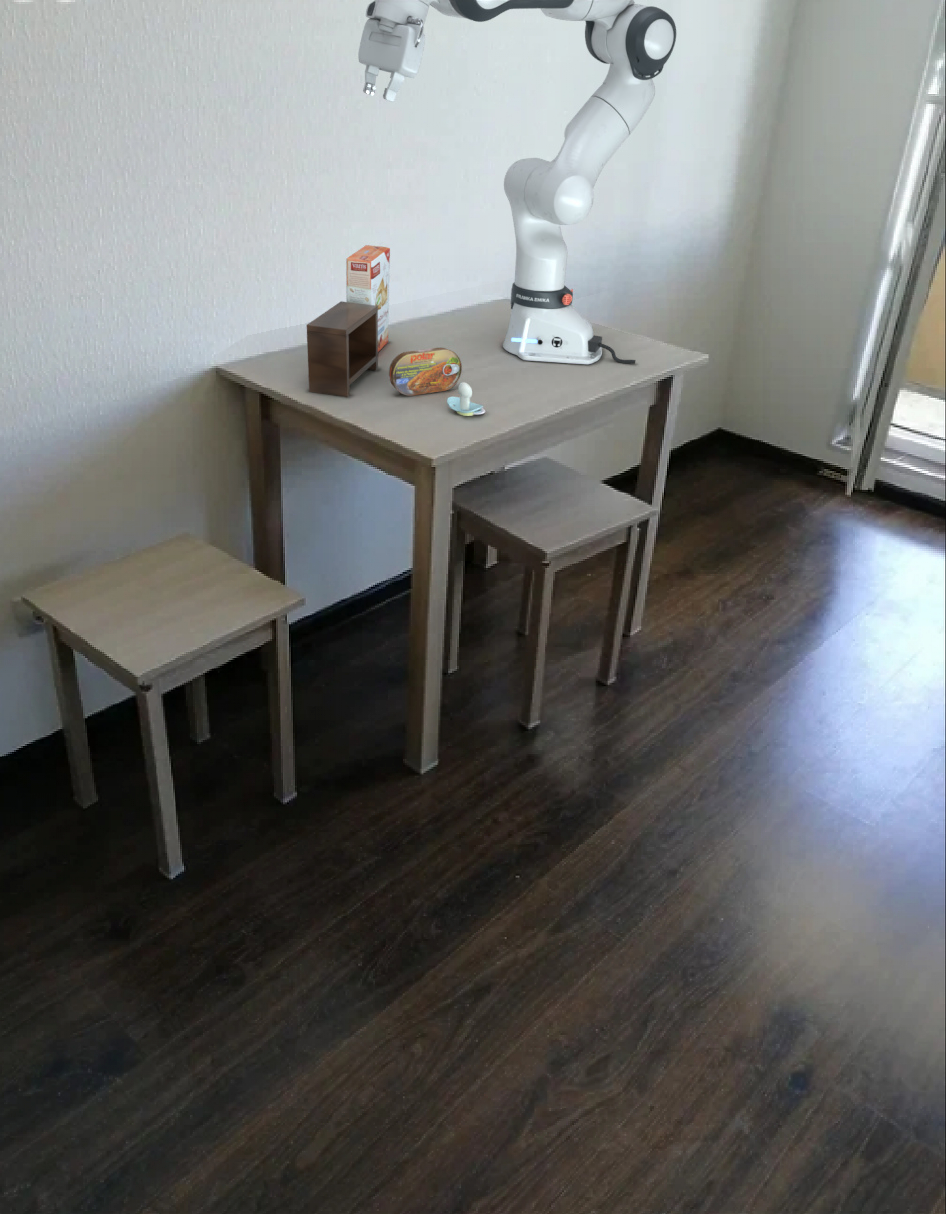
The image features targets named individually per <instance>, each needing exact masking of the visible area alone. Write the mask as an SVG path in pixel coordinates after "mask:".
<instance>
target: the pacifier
mask: <svg viewBox="0 0 946 1214" xmlns="http://www.w3.org/2000/svg"><path fill="white" fill-rule="evenodd" d="M472 390H473V389H472V387H471V386H470V384H468V383H467V382H464V381H462V382H460V383H459V385H458V387H457V391H458V394H459V397H458V396H449V397H448V398H447V399H446V403H447V406H448V408H450V409H451V410H453V411H456V413H457V415H460V416H462V417H472V416H476V415H478V416H479V415H484V414H485V413H486V409H485V408H484V405H483V404H479V403H475V402H472V401H471V398H472V396H473V391H472Z"/></svg>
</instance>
